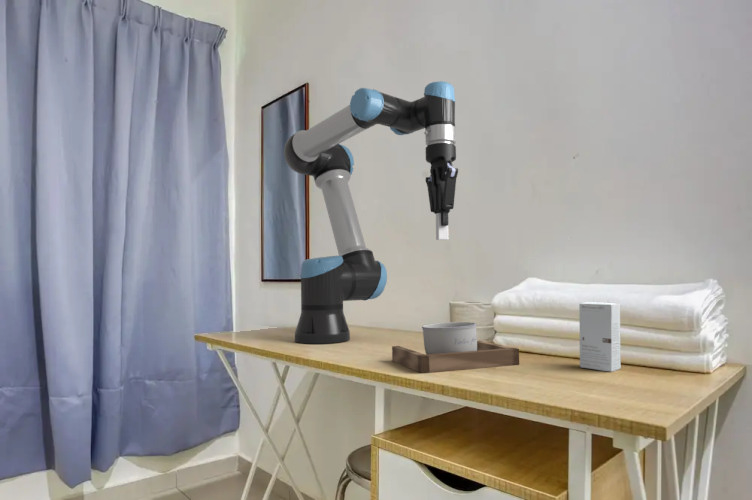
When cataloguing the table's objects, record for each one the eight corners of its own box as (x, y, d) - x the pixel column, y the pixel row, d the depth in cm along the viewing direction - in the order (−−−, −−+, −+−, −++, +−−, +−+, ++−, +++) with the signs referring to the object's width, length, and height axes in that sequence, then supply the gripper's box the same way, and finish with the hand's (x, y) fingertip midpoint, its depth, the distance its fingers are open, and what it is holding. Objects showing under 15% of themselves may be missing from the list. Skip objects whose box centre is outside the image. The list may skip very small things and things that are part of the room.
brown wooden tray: (392, 361, 101) (392, 346, 101) (479, 354, 108) (479, 340, 108) (422, 373, 88) (421, 356, 88) (519, 364, 95) (518, 348, 95)
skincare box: (579, 368, 91) (576, 302, 91) (589, 364, 94) (587, 301, 94) (613, 372, 86) (610, 303, 87) (623, 369, 89) (620, 302, 90)
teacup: (462, 370, 90) (461, 327, 90) (412, 365, 96) (411, 324, 96) (492, 359, 101) (491, 320, 101) (445, 355, 107) (445, 318, 108)
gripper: (415, 150, 127) (417, 241, 125) (439, 137, 114) (441, 237, 113) (441, 153, 129) (443, 241, 128) (467, 139, 117) (469, 237, 116)
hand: (442, 239), depth 120 cm, fingers closed
